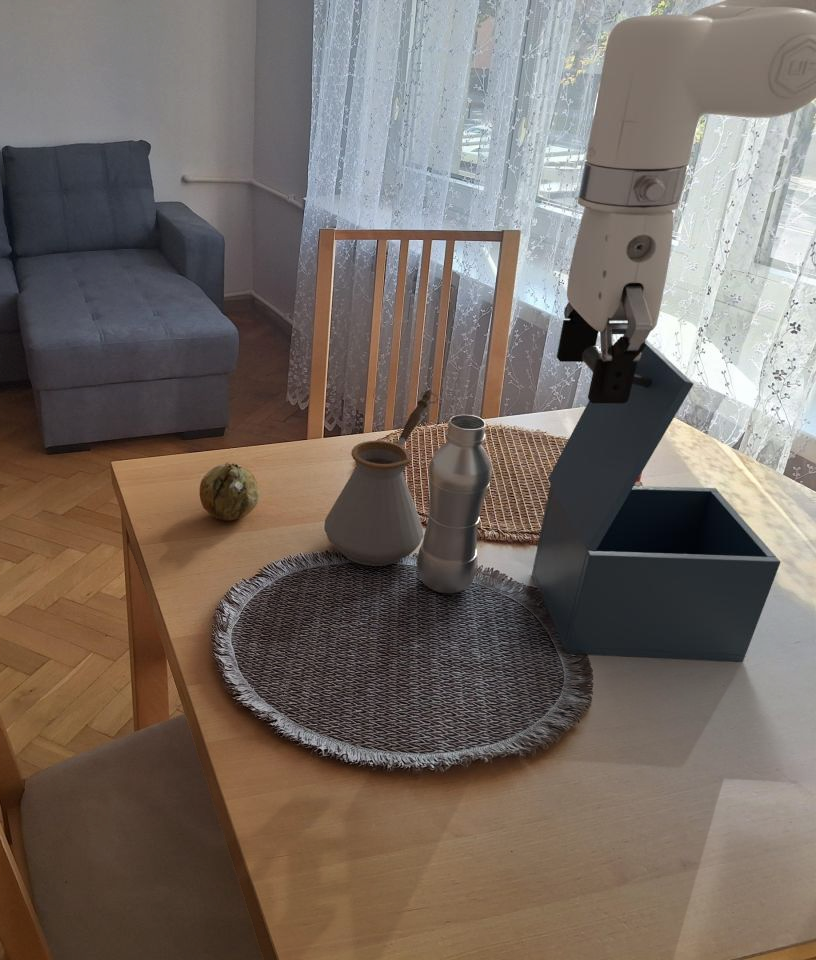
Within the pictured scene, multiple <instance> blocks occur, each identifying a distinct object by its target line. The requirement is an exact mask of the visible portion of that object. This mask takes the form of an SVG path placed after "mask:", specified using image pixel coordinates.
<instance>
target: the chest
mask: <svg viewBox="0 0 816 960" xmlns="http://www.w3.org/2000/svg"><path fill="white" fill-rule="evenodd" d="M780 564H781V560H779V558H778V557H777V555H776V554H775V553H774V552H773V551H772V550H771V549H770V548H769V547H768V546H767V545H766V543H765V542H764V541H763V540H762V539H761V538H760V537H759V535H758V534H757V533H756V532H755V530H753V529H752V527H751V526H749V524H748V523H747V522H746V521H745V519H744V518H743V517H742V516H741V515H740V514H739V513H738V512H737V510H735V508H734V507H733V506H732V505H731V504H730V503H729V502H728V500H727V499H726V498H725V497H724V496H723V494H722V493H720V492H719V490H718V489H717V488H716V487H691V486H690V487H689V486H688V487H687V486H686V487H685V486H649V485H639V486H633V488H632V490H631V491H630V493H629V495H628V496H627V498H626V500H625V502H624V503H623V505H622V507H621V508H620V510H619V512H618V513H617V515H616V517H615V518H614V520H613V522H612V524H611V525H610V527H609V529H608V530H607V532H606V534H605V535H604V537H603V539H602V541H601V542H600V544H599V546H598V547H597V549H596V551H595V552H593V551H589V550H587V549H586V547H585V545H584V544H583V542H582V540H581V538H580V536H579V535H578V533H577V531H576V529H575V527H574V525H573V524H572V522H571V520H570V518H569V516H568V515H567V513H566V511H565V509H564V507H563V505H562V504H561V502H560V500H559V498H558V496H557V495H556V493H555V491H554V489H553V487H552V486H551V484H550V483H549V489H548V494H547V499H546V503H545V509H544V513H543V518H542V522H541V528H540V531H539V538H538V543H537V547H536V553H535V557H534V561H533V566H532V571H531V575H532V578H533V580H534V583H535V585H536V588H537V590H538V592H539V594H540V596H541V598H542V601H543V604H544V606H545V608H546V610H547V613H548V615H549V617H550V620H551V622H552V625H553V627H554V629H555V632H556V633H557V636H558V639H559V641H560V643H561V646H562V649H563V650H564V652H565V654H571V655H593V656H611V657H612V656H614V657H633V658H634V657H637V658H656V659H657V658H659V659H661V658H662V659H678V660H679V659H682V660H699V661H701V660H702V661H721V662H722V661H724V662H744V660H745V658H746V655H747V652H748V650H749V647H750V645H751V641H752V640H753V636H754V633H755V631H756V628H757V626H758V623H759V621H760V618H761V615H762V612H763V610H764V607H765V604H766V602H767V599H768V597H769V594H770V592H771V591H770V590H771V589H772V586H773V584H774V581H775V578H776V575H777V573H778V570H779V568H780Z"/></svg>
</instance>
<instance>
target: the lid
mask: <svg viewBox="0 0 816 960" xmlns="http://www.w3.org/2000/svg"><path fill="white" fill-rule="evenodd" d="M622 335H623V336H622V337H625V336H626V334H622ZM645 343H646V346H645V348H644V349H643V351H642V352H641V358H640V361H639V362H637V366H636V370H635V375H634V379H633V383H632V387H631V391H630V396H629V400H628V401H627V402H626V403H591V402H590V401H589V400H588V402H587V403H586V406H585V408H584V410H583V411H582V413H581V414H580V417H579V419H578V421H577V423H576V425H575V426H574V428H573V431H572V432H571V434H570V436H569V438H568V439H567V441H566V443H565V446H563V447H564V448H563V449H562V452H561V453H560V455H559V457H558V459H557V461H556V463H555V464H554V467H553V468H552V471H551V472H550V474H549V476H548V478H547V480H548V482H549V485H550V484H551V486H552V487H553V489H554V491H555V493H556V495H557V496H558V498H559V500H560V502H561V504H562V505H563V507H564V509H565V511H566V513H567V515H568V516H569V518H570V520H571V522H572V524H573V525H574V527H575V529H576V531H577V533H578V535H579V536H580V538H581V540H582V542H583V544H584V545H585V547H586V549H587V550H589V551H593V552H595V551H596V549H597V547H598V546H599V544H600V542H601V541H602V539H603V537H604V535H605V534H606V532H607V530H608V529H609V527H610V525H611V524H612V522H613V520H614V518H615V517H616V515H617V513H618V512H619V510H620V508H621V507H622V505H623V503H624V502H625V500H626V498H627V496H628V495H629V493H630V491H631V490H632V488H633V486H634V485H635V483H636V481H637V479H638V478H639V476H640V474H641V473H643V471H644V469H645V468H646V466H647V464H648V463H649V462H650V459H651V457H652V456H653V454H654V453H655V451H656V449H657V447H658V446H659V444H660V442H661V441H662V439H663V437H664V435H665V434H666V432H667V430H668V428H669V427H670V426H671V424H672V422H673V420H674V418H675V416H676V415H677V414H678V411H679V410H680V408H681V406H682V405H683V403H684V401H685V400H686V399H687V397H688V394H689V393H690V391H691V390H692V388H693V386H694V384H695V383H694V382H693V381H691V379H689V378H688V377H687V376H686V375H685V374H684V373H683V372H682V371H681V370H680V369H679V368H678V367H677V366H676V365H674V363H673V362H672V361H670V360H669V359H668V357H666V356H665V354H663V353H662V352H660V351H659V349H657V347H656V346H654V345H653V344H652V343H651V342H650V341H649V340H648V338H647V339H646V342H645ZM596 358H601V346H600V347H599V346H598V345H596V346H590V347H588V348H586V349H585V350H584V352H583V354H582V359H583V361H584V362H583V363H584V364H585V365H586V366H587V367H588V368H589V369H590V370H591V372H592V373H593V370H594V365H595V361H596ZM641 475H642V474H641Z"/></svg>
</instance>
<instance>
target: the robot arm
mask: <svg viewBox="0 0 816 960" xmlns="http://www.w3.org/2000/svg"><path fill="white" fill-rule="evenodd" d="M605 46H606V47H605V49H604V50H605V51H604V56H603V62H602V67H601V72H600V78H599V83H598V88H597V94H596V99H595V105H594V110H593V116H592V121H591V127H590V133H589V138H588V144H587V149H586V154H585V159H584V160H585V161H584V165H583V170H582V176H581V180H580V181H581V182H580V186H579V192H578V198H577V203H578V205H579V206H581V207H583V212H582V216H581V219H580V223H579V227H578V231H577V235H576V240H575V243H574V247H573V253H572V257H571V262H570V267H569V273H568V278H567V279H568V280H567V286H566V298H567V301H568V302H567V304H566V306H565V307H564V311H563V317H564V319H563V320H562V325H561V326H562V327H561V332H560V337H559V341H558V347H557V352H556V358H557V360H558V361H559V362H562V363H563V362H564V363H565V362H567V363H577V362H578V363H585V362H584V361H583V359H582V354H583V352H584V350H585V349H586V348H588V347H590V346H597V341H598V336H599V339H600V348H601V358H596V361H595V365H594V370H593V372H592V375H591V380H590V384H589V390H588V394H587V399H588V402H589V401H590V402H591V403H626V402H627V401H628V400H629V396H630V391H631V387H632V383H633V379H634V375H635V370H636V366H637V362H639V361H640V358H641V352H642V351H643V349H644V348H645V346H646V343H645V342H646V339H647V340H648V337H649V335H650V333H651V332H652V331H653V330H654V329H655V328H656V327H657V324H658V321H659V316H660V311H661V307H662V303H663V302H662V301H663V297H664V292H665V286H666V281H667V275H668V269H669V263H670V259H671V250H672V241H673V233H674V232H673V231H674V214H675V213H674V211H675V210H677V209H678V208H679V205H680V201H681V197H682V193H683V189H684V185H685V181H686V176H687V172H688V169H689V163H690V158H691V155H692V152H693V146H694V143H695V138H696V134H697V130H698V126H699V122H700V119H701V118H702V117H703V116H707V115H713V116H727V117H736V118H738V117H739V118H745V119H755V120H757V119H759V120H761V119H773V118H777V117H781V116H784V115H788V114H790V113H793V112H795V111H798V110H800V109H801V108H804V107H805V106H807V105H809V104H810V103H811V102H812V101H814V100H815V99H816V0H724V1H720V2H716V3H713V4H711V5H707V6H704V7H702V8H700V9H698V10H695V11H694V12H692V13H691V14H652V15H638V16H631V17H628V18H625V19H623V20H620V21H619V22H618V23H617V24H616V25H614V27H613V28H612V29H611V31H610V34H609V36H608V38H607V42H606V45H605ZM624 334H626V336H625V337H623V336H620V337H619V338H618V339H617V340H616V341H615V342H614V341H613V335H624ZM613 342H614V343H613Z"/></svg>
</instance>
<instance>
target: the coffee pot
mask: <svg viewBox="0 0 816 960" xmlns="http://www.w3.org/2000/svg"><path fill="white" fill-rule="evenodd" d="M432 395H433V396H434V397H436V401H429V400H430V398H431V396H432ZM438 402H439V396H438V395H436V393H434V392H432V390H430V389H427V390H426V391H423V392H421V393H420V399H419V400H418V401H417V406H416V407H415V408H414V410H413V411H412V412H411V413H410V415H409V416H408V419H407V421H406V423H405V425H404V426H403V429H402V431H401V433H400V435H399V438H398V440H397V442H396V443H395V442H392V441H386V440H367V441H362V442H360V443H357V444H356V445H355V446H353V448H352V449H351V453H350V454H351V457H352V459H353V460H354V461H355V468H354V469H353V471H352V473H351V475H350V476H349V478H348V480H347V481H346V483H345V485H344V486H343V488H342V490H341V492H340V493H339V495H338V497H337V499H336V500H335V502H334V504H333V505H332V507H331V508H330V510H329V512H328V513H327V515H326V517H325V519H324V524H323V525H324V527H323V528H324V532H325V534H326V537H327V539H328V541H329V542H330V544H331V545H332V546H333V547H334V549H336V550H337V551H338V552H339V553H341V554H342V555H343V556H344V557H345V558H346V559H348V560H349V561H352V562H354V563H357V564H358V565H359V564H360V565H364V566H370V567H385V566H388V565H392V564H395V563H397V562H399V561H401V560H403V559H404V558H406V557H408V556H409V555H411V554H412V553H414V551H416V549H417V548H418V547H419V546H420V544H421V543H422V541H423V539H424V526H423V523H422V521H421V518H420V516H419V513H418V510H417V507H416V505H415V502H414V500H413V495H412V494H411V491H410V488H409V486H408V483H407V480H406V478H405V475H404V472H403V471H404V470H405V469H406V467H407V466H408V465H410V464H411V462H412V461H411V460H412V459H411V455H410V452H409V450H408V449H406V448H405V447H404V445H405V443H406V442H407V440H408V439H409V437H411V434H412V433H413V431H414V429H415V428H416V427H417V425H418V423H419V422H420V421H421V417H422V414H423V411H424V409H426V408H427V407H428V404H436V403H438Z"/></svg>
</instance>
